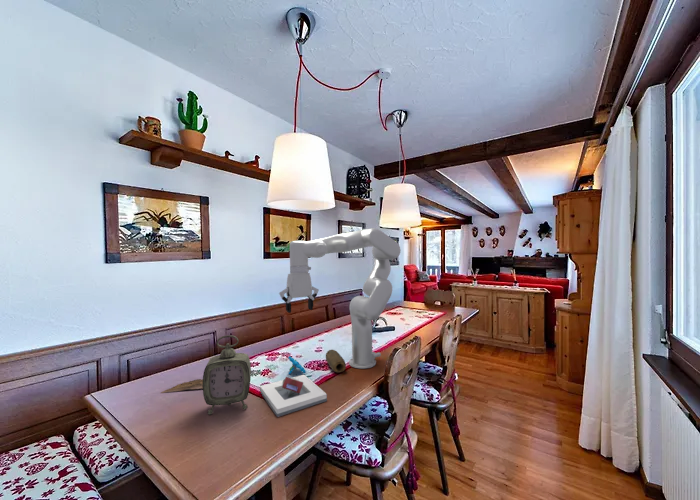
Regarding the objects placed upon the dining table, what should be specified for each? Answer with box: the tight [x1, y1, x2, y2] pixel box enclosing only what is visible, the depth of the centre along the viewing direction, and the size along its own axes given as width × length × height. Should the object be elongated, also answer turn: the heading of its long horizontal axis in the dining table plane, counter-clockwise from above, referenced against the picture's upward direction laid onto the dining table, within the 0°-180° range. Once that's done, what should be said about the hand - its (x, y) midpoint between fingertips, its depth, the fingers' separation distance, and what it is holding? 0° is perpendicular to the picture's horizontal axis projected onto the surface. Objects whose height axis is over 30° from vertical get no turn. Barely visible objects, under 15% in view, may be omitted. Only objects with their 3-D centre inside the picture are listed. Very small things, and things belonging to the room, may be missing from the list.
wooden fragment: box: [160, 378, 203, 394], centre depth 119 cm, size 26×11×1 cm, turn 112°
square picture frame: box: [259, 374, 328, 418], centre depth 108 cm, size 18×20×2 cm
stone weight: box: [325, 349, 347, 373], centre depth 134 cm, size 15×7×7 cm, turn 23°
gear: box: [287, 355, 307, 375], centre depth 129 cm, size 11×6×10 cm
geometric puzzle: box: [282, 373, 303, 396], centre depth 108 cm, size 7×7×8 cm
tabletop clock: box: [202, 334, 252, 416], centre depth 101 cm, size 14×9×25 cm, turn 105°
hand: (299, 310), depth 124 cm, fingers open, 9 cm apart
